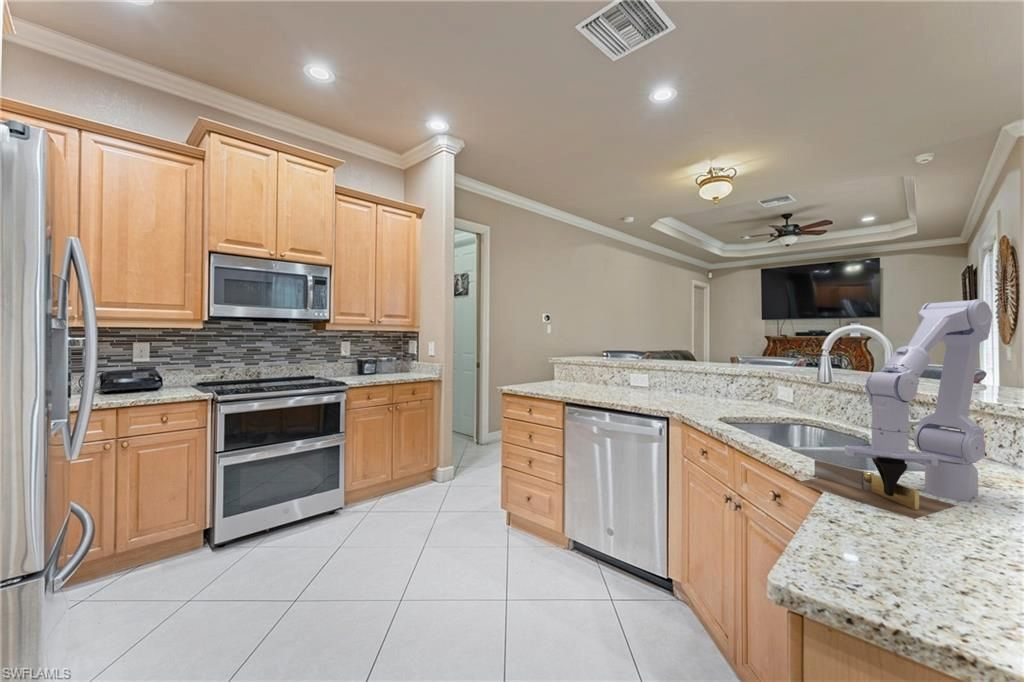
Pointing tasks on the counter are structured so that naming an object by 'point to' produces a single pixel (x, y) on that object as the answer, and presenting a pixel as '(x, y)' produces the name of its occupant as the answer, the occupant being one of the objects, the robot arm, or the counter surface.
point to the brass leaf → (901, 492)
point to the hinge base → (865, 490)
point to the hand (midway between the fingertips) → (888, 494)
